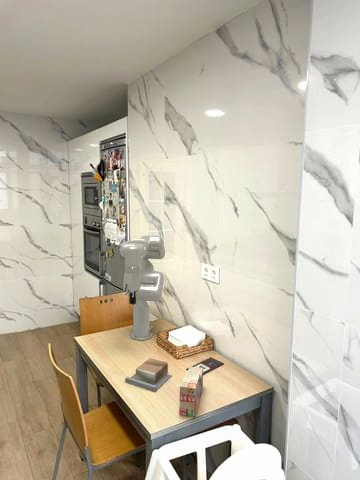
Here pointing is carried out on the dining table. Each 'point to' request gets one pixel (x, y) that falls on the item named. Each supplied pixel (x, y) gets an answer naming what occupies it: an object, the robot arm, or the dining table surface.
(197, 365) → the chocolate bar
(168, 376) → the mat
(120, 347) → the dining table surface
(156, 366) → the walnut block
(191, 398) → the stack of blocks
